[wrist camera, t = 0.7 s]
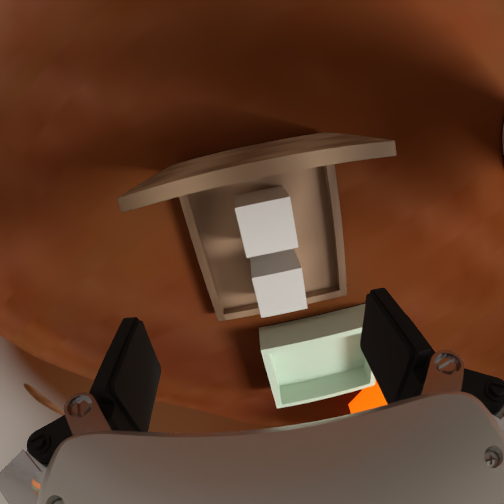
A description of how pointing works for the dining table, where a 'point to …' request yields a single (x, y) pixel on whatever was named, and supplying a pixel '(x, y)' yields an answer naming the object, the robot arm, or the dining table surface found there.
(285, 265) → the stone cube
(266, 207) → the stone cube
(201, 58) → the dining table surface
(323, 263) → the brown hollow box
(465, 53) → the dining table surface
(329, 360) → the sage bin
